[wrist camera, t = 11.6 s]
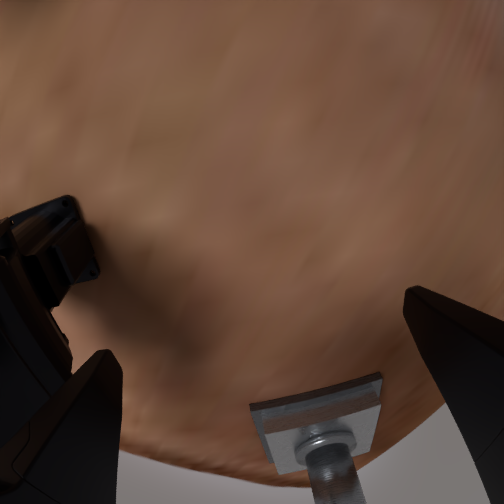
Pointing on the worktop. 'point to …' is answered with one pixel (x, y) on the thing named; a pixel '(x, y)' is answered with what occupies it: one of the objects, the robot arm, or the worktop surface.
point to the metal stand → (318, 418)
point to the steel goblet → (331, 468)
